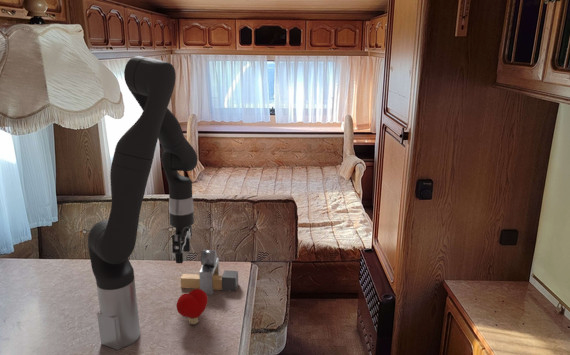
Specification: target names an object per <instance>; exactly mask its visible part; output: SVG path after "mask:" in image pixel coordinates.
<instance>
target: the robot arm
mask: <svg viewBox="0 0 570 355" xmlns="http://www.w3.org/2000/svg"><path fill="white" fill-rule="evenodd" d="M123 74H124V75H123V76H124V82H125V84H126V87H127V88H128V90H129V92H130V93H131V95H132V96H133V97H134V99H135V101H136V102H137V103H138V105H139V106H140V108H141V110H142V113H141V115H140V117H139V118H138V119H137V120H136V121H135V123H133V124H132V125H131V127H130V128H128V129H127V130H126V131H125V133H124V134H123V135H122V136H121V137H120V138H119V140H118V141H117V143H116V145H115V149H114V152H113V153H114V154H113V156H112V160H111V161H112V162H111V165H110V171H109V172H110V174H109V177H110V192H111V194H110V196H111V206H110V212H109V216H108V219H103V220H100V221H98V222H96V223H95V224H94V225H93V226H92V227H91V228H90V230H89V232H88V237H87V245H88V246H87V247H88V254H89V259H90V260H89V261H90V265H91V270H92V274H93V276H94V279H95V281H96V282H95V283H96V287H97V288H96V291H97V297H98V305H99V311H97V313H96V316H97V322H98V329H99V330H98V332H99V339H100V344H101V345H103V346H107V347H108V348H109V347H110V348H112V349H114V350H117V351H119V350H120V349H122V348H125V347H129V346H130V345H132V344H134V343H136V342H137V340H138V339H139V338H140V336H141V330H140V329H141V328H140V320H139V319H140V318H139V310H138V309H139V308H138V300H137V289H136V280H135V273H134V272H135V270H134V268H133V266H132V265H133V264H131V261H130V259H129V258H130V257H131V255H132V253H133V252H134V249H135V247H136V243H137V236H138V229H139V220H140V214H141V208H142V204H143V201H144V197H145V193H146V188H147V183H148V180H149V178H150V174H151V173H150V172H151V169H152V165H153V161H154V156H155V151H156V148H157V143H158V141H159V143H160V146H161V148H162V149H163V151H162V153H161V157H160V158H161V160H160V161H161V165H162V168H163V171H164V174H165V177H166V181H167V183H168V193H169V195H168V196H169V199H168V214H169V225H170V226H171V227H173V228H175V230H174V234H172V235H171V238H172V239H171V247H172V250H171V251H172V254H175V263H176V264H183V262H184V253H185V252H186V253H187V252H188V253H189V252H190V251H191V239H192V238H191V237H192V236H193V230H192V229H193V227H192V225H194V223H195V215H194V214H195V212H194V210H195V209H194V199H193V181H192V179H191V178H189V177H188V176H184V175H181V174H180V172H191V171H193V170H194V169H195V168H196V167H197V165H198V161H199V160H198V155H197V152H196V150H195V149H194V147H193V146H192V144H191V143H190V142H189V141H188V140H187V138H185V135H184V132H183V128H182V127H181V123H180V122H179V120H178V118H177V117H176V116H175V115H174V113H173V112H172V111H171V110H170V109H169V108H168V107H169V104H170V101H171V99H172V96H173V93H174V89H175V84H176V80H177V79H176V77H177V76H176V69H175V67H174V66H173V64H172V63H170V62H168V61H165V60H160V59H156V58H151V57H148V56H147V57H146V56H140V55H139V56H138V55H137V56H133V57H131V58H130V59H129V60H128V61H127V62H126V64H125V66H124V71H123Z"/></svg>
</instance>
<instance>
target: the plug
mask: <svg viewBox="0 0 570 355" xmlns="http://www.w3.org/2000/svg"><path fill="white" fill-rule="evenodd" d="M179 280H180V287H181V288H182V289H183V288H184V289H200V277H199V274H195V273H194V274H193V273H191V274H190V273H183V274H182V275H181V277H180V279H179ZM238 286H239V271H238V270H226V269H225V270H224V271H223V274H222V275H220V274H219V275H213V290H221V292H237V289H238Z"/></svg>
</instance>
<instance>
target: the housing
mask: <svg viewBox="0 0 570 355" xmlns="http://www.w3.org/2000/svg"><path fill="white" fill-rule="evenodd" d="M200 255H201V256H200V264H201V268H200V269H199V272H198V275H199V277H200V288H199V289H201V290H203V291H204V292H205V293H206V294H207V296H209V295H210V296H211V295H214V290H215V289H213V275H219V276H220V259H219V257H218V255H217V250H216V249H202V251H201V254H200Z"/></svg>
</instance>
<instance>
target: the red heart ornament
mask: <svg viewBox="0 0 570 355" xmlns="http://www.w3.org/2000/svg"><path fill="white" fill-rule="evenodd" d="M208 300H209V297H208V295H207V294H206V293H205V292H204V291H203V290H201V289H200V288H193V290H191V291H189V292H188V293H183V294H181V295H180V296H179V297H178V299H177V302H176V305H175V306H176V307H175V308H176V311H177V312H178V313H179V314H180V315H181V316H183V317H186V318H187V319H188V324H190V325H192V326H193V325H196V324H197V323H198V322H199V317H201V315H202V314H203V313H204V311H205V310H206V308H207V306H208Z"/></svg>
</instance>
